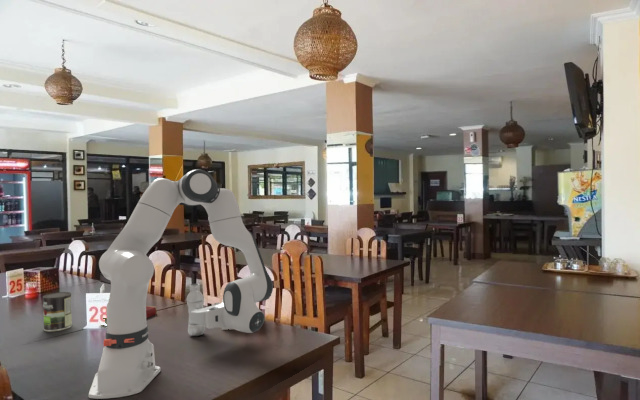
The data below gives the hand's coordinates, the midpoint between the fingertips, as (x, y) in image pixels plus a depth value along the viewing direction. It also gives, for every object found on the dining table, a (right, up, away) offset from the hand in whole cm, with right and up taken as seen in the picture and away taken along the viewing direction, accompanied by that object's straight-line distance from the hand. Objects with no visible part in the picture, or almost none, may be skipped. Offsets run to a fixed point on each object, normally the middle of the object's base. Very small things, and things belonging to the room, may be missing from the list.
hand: (205, 307), depth 157 cm
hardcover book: (-42, -13, +27) cm, 52 cm away
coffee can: (-68, -13, +18) cm, 71 cm away
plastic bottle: (-5, -12, +5) cm, 14 cm away
